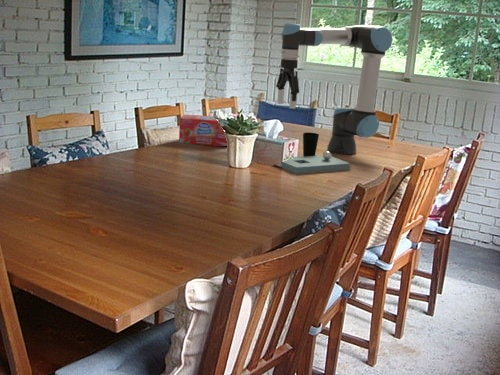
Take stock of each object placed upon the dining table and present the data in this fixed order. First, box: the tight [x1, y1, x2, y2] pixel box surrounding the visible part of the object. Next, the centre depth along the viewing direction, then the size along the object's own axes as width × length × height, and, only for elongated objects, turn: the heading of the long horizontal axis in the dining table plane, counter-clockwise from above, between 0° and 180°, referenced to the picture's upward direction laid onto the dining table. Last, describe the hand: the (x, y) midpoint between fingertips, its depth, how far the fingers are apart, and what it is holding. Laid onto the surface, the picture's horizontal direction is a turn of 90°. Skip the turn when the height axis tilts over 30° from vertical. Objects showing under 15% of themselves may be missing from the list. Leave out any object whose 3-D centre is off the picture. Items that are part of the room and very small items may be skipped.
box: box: [178, 113, 227, 147], centre depth 334 cm, size 27×13×14 cm, turn 80°
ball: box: [322, 150, 332, 160], centre depth 298 cm, size 4×4×4 cm
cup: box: [302, 132, 320, 157], centre depth 313 cm, size 8×8×12 cm
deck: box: [281, 154, 351, 175], centre depth 295 cm, size 30×18×3 cm, turn 120°
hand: (286, 106), depth 294 cm, fingers open, 13 cm apart
